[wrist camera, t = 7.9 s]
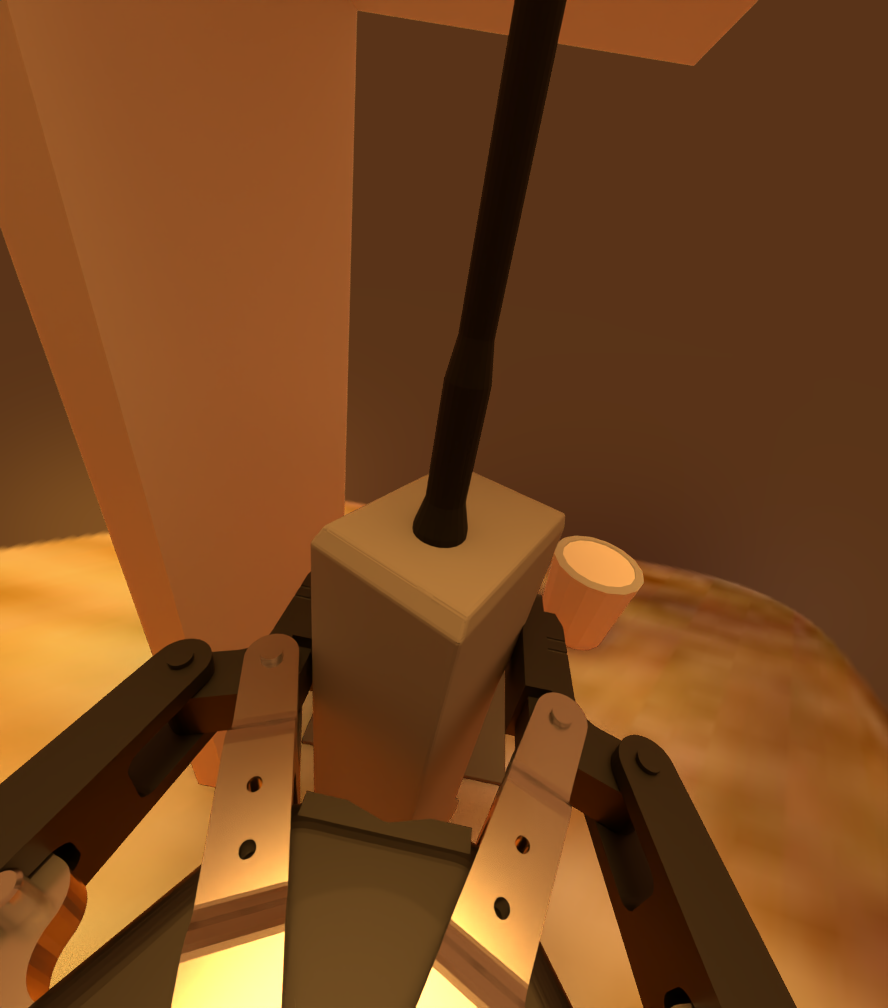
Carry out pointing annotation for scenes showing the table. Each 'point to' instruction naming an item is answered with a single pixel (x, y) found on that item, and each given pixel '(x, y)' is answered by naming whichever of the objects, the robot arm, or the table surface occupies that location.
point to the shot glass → (589, 588)
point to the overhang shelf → (220, 273)
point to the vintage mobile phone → (438, 534)
